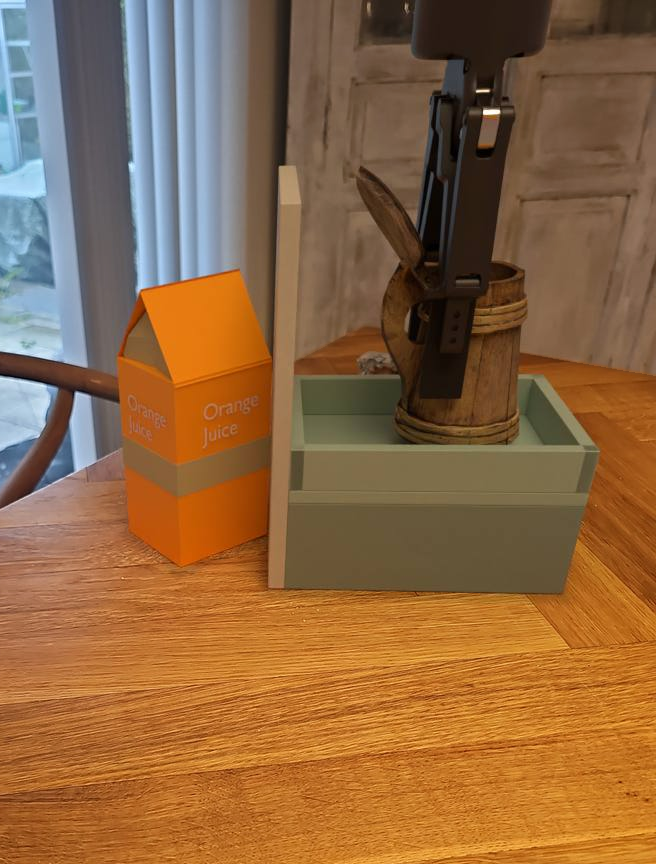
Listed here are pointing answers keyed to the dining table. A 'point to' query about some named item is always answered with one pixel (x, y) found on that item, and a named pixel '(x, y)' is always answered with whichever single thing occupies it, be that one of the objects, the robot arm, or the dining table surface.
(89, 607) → the dining table surface
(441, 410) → the wooden mug
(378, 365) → the grey rock
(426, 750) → the dining table surface
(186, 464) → the orange juice
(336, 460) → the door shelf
